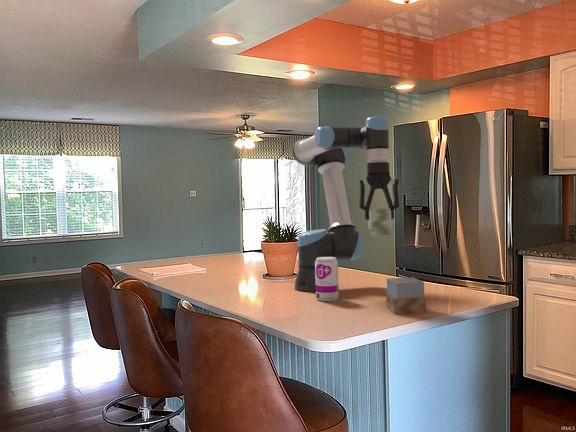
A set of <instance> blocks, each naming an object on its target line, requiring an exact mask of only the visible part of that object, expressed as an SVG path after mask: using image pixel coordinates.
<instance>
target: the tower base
mask: <svg viewBox="0 0 576 432" xmlns="http://www.w3.org/2000/svg"><path fill="white" fill-rule="evenodd" d="M426 302H427V300H426V298H425V297H424V298H410V299H395V298H394V297H392V296H390V295H388V294H387V293H386V309H387V310H389V311H390V312H391V313H392V314H393V315H416V314H421V315H422V314H427V309H426V308H427V305H426V304H427V303H426Z"/></svg>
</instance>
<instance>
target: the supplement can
mask: <svg viewBox="0 0 576 432" xmlns="http://www.w3.org/2000/svg"><path fill="white" fill-rule="evenodd" d="M315 281H316V291H315V298H316V299H317V300H318V301H321V302H334V301H337V300H338V298H339V261H337V260H336V257H318V258H317V259H316V261H315Z"/></svg>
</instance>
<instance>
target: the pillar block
mask: <svg viewBox="0 0 576 432" xmlns="http://www.w3.org/2000/svg"><path fill="white" fill-rule="evenodd" d="M369 211H371V213H372V230H369V235H370V236H391V235H392V234H391V229H390V208H389V207H388V208H387V207H386V208H383V207H382V208H370V209H369Z"/></svg>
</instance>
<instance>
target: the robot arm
mask: <svg viewBox="0 0 576 432" xmlns="http://www.w3.org/2000/svg"><path fill="white" fill-rule="evenodd" d="M389 130H390V128H389V120H388V117H386V116H382V115H381V116H380V115H375V116H370V117H367V119H366V122H365V126H329V125H328V126H327V125H325V126H319V127H317V128H316V131H315V133H314V135H312V136H310V137H308V138H300V139H299V140H297V141H295V142H294V144H293V146H292V149H291V153H292V154H291V155H292V157H293V159H294V160H295V162H297V163H298V164H300V165H302V166H305V167H306V166H307V167H317V172H318V173H319V174H321V175H322V181H323V188H324V193H325V200H326V206H327V213H328V218H329V224H330V226H329V227H328V229H324V228H321V229H311V230H307V231H304V232H301V233H299V234H298V237H297V250H298V251H297V256H298V257H297V258H298V259H297V260H298V270H297V273H296V274H297V275H296V278H295V281H294V289H295V290H297V291H301V292H316V281H315V261H316V259H317V258H318V257H336V260H337V261H338V262H340V261H352V260H357V259H358V258H360V257H361V256H362V253H363V250H364V236H363V234H362V232H361V231H359V230H357V228H356V225H355V224H354V223H353V222H352V221H351V215H350V208H349V204H348V197H347V192H346V187H345V180H344V177H343V176H344V175H343V171H344V169H345V166H346V165H347V163H348V156H349V155H348V149H357V150H366V161H367V162H368V163H367V164H366V165H367V166H366V169H367V171H366V173H367V176H366V177H365V179H360V180H358V184H359V204H358V205H359V209H360V210H362V211H364V219H365V220H366V221H367V226H368V228H367V229H368V230H369V231H370V230H372V213H371V211H369V209H371V204H372V201H373V199H374V195H375V192H376V191H375V190H382V192H383V194H384V197H385V200H386V203H387V206H388V208H390V230H392V220H394V218H395V210H396V209H397V208H400V200H399V189H398V186H399V179H398V178H392V177H391V175H390V174H391V173H390V163H389V161H390V151H389V150H390V149H389V147H390V144H389V143H390V141H389V139H390V138H389ZM367 184H368V185H369V192H368V194H367V195H368V196H367V199H366V201H365V196H366V194H365V193H366V188H365V187H366V186H367ZM389 184H391V186H392V197H393V200H392V198H391V195H390V192H389V188H388V185H389Z"/></svg>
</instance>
